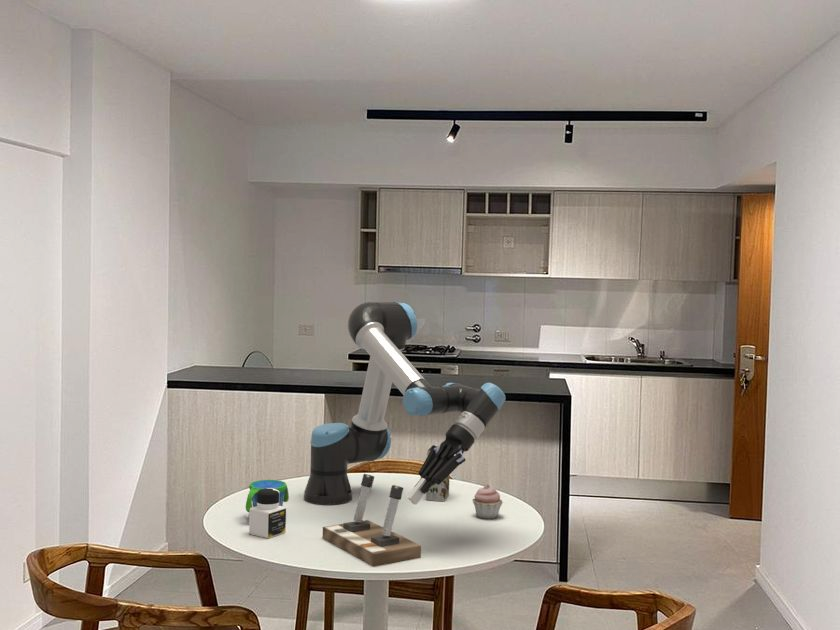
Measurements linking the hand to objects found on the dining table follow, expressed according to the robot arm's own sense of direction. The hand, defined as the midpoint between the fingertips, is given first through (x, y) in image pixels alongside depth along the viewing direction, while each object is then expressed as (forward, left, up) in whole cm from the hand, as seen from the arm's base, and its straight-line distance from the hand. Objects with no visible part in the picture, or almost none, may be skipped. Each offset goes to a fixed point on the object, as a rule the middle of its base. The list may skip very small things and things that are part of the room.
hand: (411, 501), depth 220 cm
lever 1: (-14, -8, -8) cm, 18 cm away
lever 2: (0, -8, -8) cm, 11 cm away
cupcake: (-15, +38, -13) cm, 43 cm away
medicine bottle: (-31, -26, -13) cm, 42 cm away
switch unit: (-7, -8, -13) cm, 17 cm away
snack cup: (-44, -20, -13) cm, 50 cm away
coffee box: (-40, +38, -13) cm, 57 cm away
